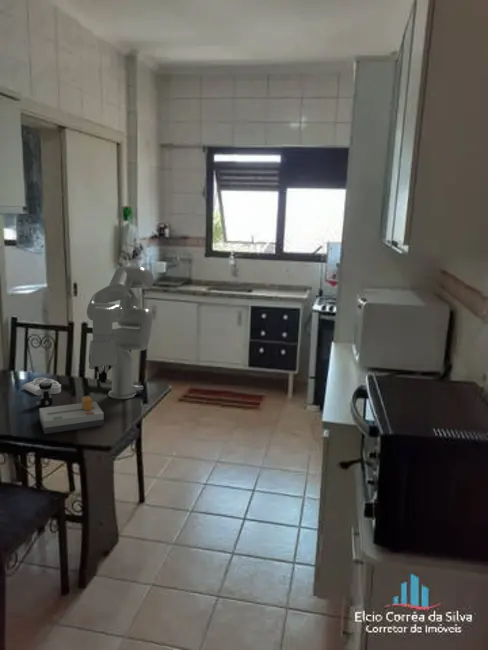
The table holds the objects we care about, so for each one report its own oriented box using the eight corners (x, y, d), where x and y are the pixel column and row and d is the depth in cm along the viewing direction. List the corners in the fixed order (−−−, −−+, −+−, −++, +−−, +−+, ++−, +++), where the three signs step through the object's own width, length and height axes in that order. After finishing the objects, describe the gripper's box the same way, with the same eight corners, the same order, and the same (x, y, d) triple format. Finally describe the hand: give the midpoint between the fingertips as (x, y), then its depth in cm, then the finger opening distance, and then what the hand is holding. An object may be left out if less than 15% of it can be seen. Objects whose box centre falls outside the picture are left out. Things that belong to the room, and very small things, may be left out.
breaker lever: (89, 410, 205) (89, 395, 204) (92, 415, 201) (92, 400, 200) (82, 411, 204) (81, 396, 203) (84, 416, 200) (84, 401, 198)
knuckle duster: (19, 388, 236) (48, 382, 247) (38, 398, 225) (68, 391, 236) (19, 381, 235) (48, 375, 246) (38, 391, 224) (68, 384, 235)
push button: (37, 407, 213) (37, 385, 211) (35, 403, 218) (34, 381, 216) (54, 405, 217) (53, 383, 215) (50, 401, 221) (50, 379, 219)
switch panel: (94, 410, 213) (94, 399, 212) (103, 425, 200) (103, 412, 198) (39, 418, 203) (38, 405, 202) (44, 433, 189) (44, 421, 188)
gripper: (118, 334, 206) (118, 377, 209) (81, 336, 199) (81, 381, 202) (123, 338, 199) (123, 382, 203) (85, 340, 192) (85, 386, 196)
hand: (102, 381), depth 203 cm, fingers closed
